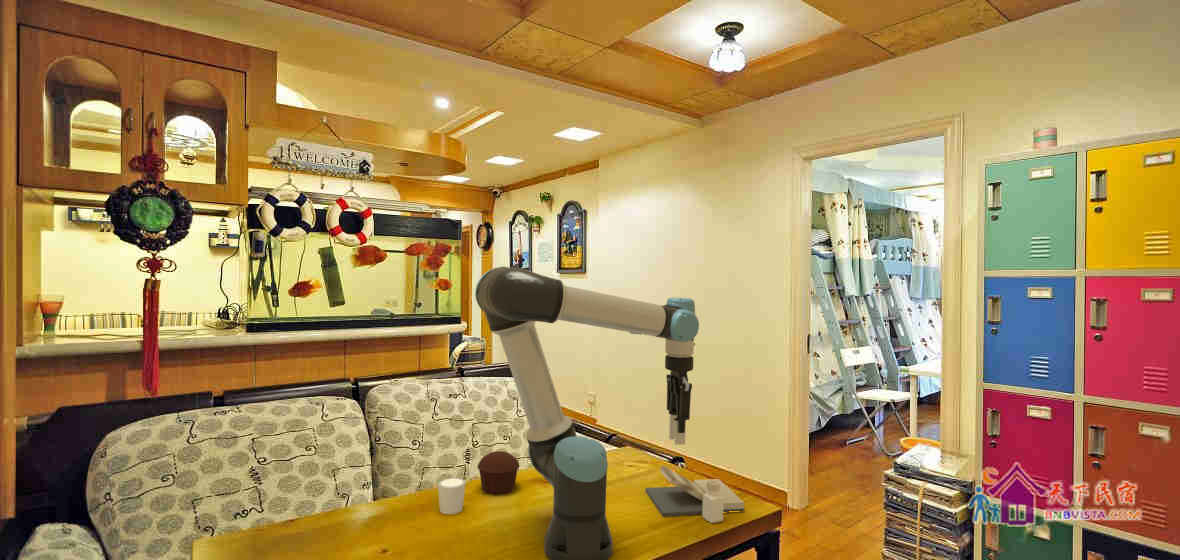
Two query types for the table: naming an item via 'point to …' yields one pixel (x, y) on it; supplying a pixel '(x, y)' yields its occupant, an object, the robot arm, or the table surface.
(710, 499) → the salt shaker
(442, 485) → the white tapered cylinder
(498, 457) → the muffin
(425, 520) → the table surface
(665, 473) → the plank
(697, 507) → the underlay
